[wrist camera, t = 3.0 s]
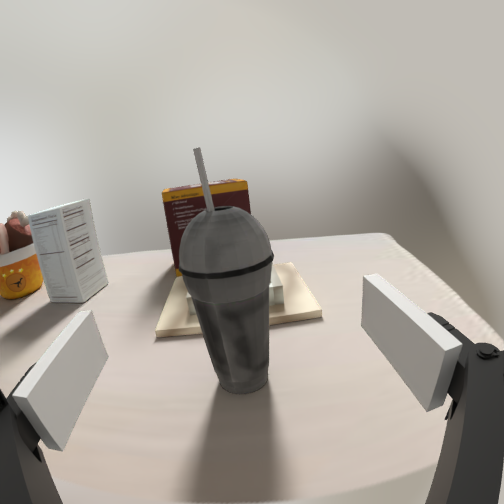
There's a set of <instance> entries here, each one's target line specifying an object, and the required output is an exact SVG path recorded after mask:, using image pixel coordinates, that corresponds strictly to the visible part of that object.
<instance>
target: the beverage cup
mask: <svg viewBox="0 0 504 504" xmlns="http://www.w3.org/2000/svg"><path fill="white" fill-rule="evenodd" d="M193 150H194V155H195V159H196V163H197V168H198V172H199V176H200V181H201V185H202V189H203V193H204V198H205V202H206V206H207V209H206V210H204V211H203V212H201V213H199V214H198V215H197V216H196V217H194V218H193V219H192V220H191V222H190V223H189V224H188V225H187V227H186V229H185V231H184V233H183V236H182V238H181V243H180V249H179V261H180V262H179V271H180V272H181V273H182V277H183V281H184V283H185V286H186V288H187V290H188V293H189V294H190V295H191V298H192V301H193V304H194V308H195V311H196V314H197V318H198V321H199V324H200V327H201V330H202V334H203V337H204V340H205V343H206V346H207V349H208V352H209V355H210V358H211V361H212V364H213V367H214V370H215V372H216V374H217V376H218V379H219V381H220V385H221V386H222V387H223V389H225V390H227V391H228V392H232V393H235V394H246V393H251V392H254V391H256V390H258V389H260V388H261V387H262V386H264V385H265V383H266V382H267V380H268V366H269V285H270V280H271V271H272V261H273V258H274V254H273V252H272V250H271V246H270V242H269V239H268V236H267V234H266V232H265V230H264V228H263V227H262V225H261V224H260V223H259V222H258V221H257V220H256V219H255V218H254V217H253V216H252V215H251V214H249V213H248V212H246V211H245V210H242V209H240V208H237V207H234V206H220V207H214V205H213V201H212V197H211V192H210V188H209V184H208V180H207V176H206V171H205V167H204V163H203V158H202V154H201V149H200V148H196V149H193Z"/></svg>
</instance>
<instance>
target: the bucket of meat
mask: <svg viewBox="0 0 504 504" xmlns="http://www.w3.org/2000/svg"><path fill="white" fill-rule="evenodd" d="M42 282H43V276H42V273H41V269H40V266H39V262H38V258H37V254H36V251H35V247H34V243H33V238H32V234H31V230H30V225H29V220H28V216H26V215H25V213H24V212H23V211H18V212H17V211H14V212H12V214H11V216H10V217H9V218H7V223H6V224H5V225H4V224H2V223H0V295H1V296H2V297H4V298H6V299H16V298H21V297H24V296H26V295H28V294H31V293H33V292H35V291H36V290H37V289H39V288H40V287H41V285H42Z"/></svg>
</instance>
